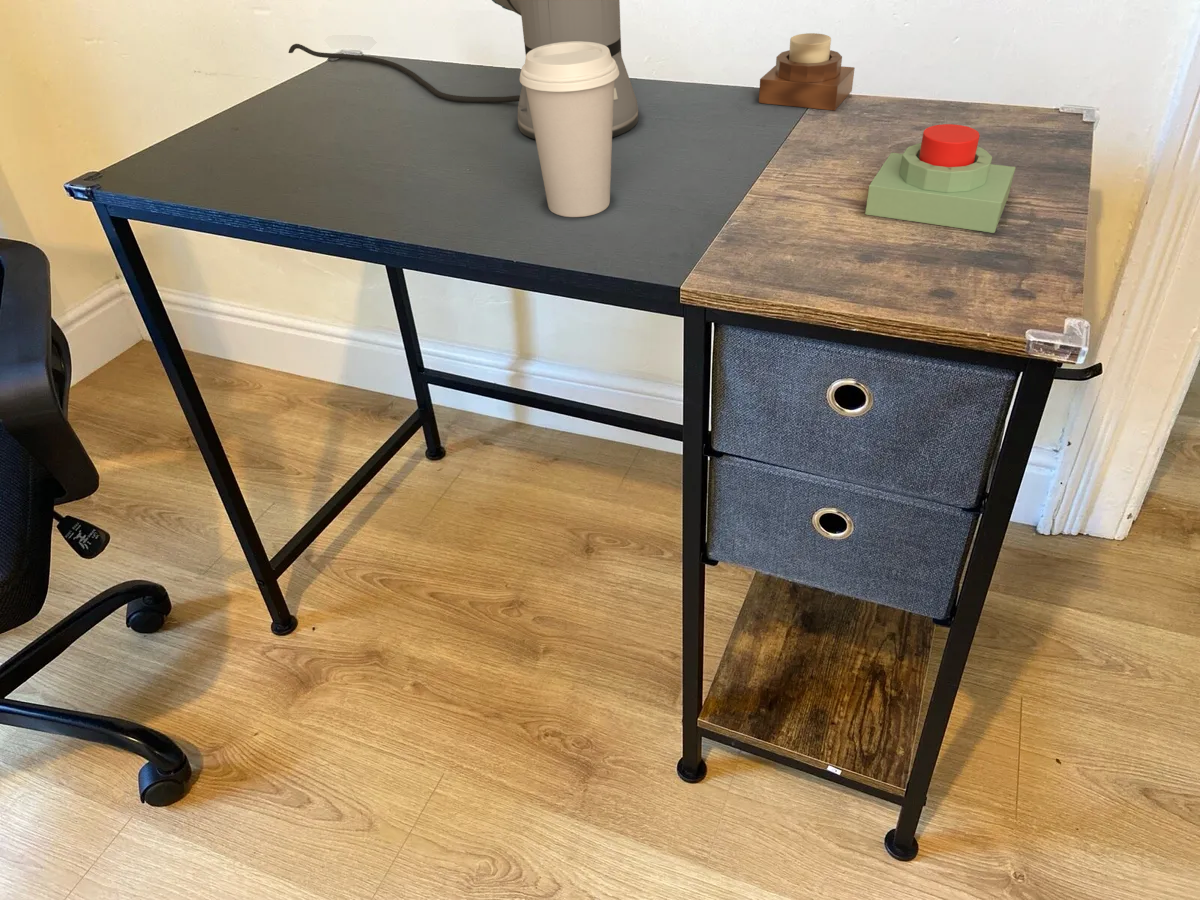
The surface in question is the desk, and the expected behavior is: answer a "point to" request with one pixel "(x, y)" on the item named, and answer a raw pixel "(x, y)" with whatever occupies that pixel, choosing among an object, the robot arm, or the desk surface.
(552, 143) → the coffee cup
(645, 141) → the desk surface
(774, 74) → the wooden square base
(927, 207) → the sage console
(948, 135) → the near button
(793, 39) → the far button
